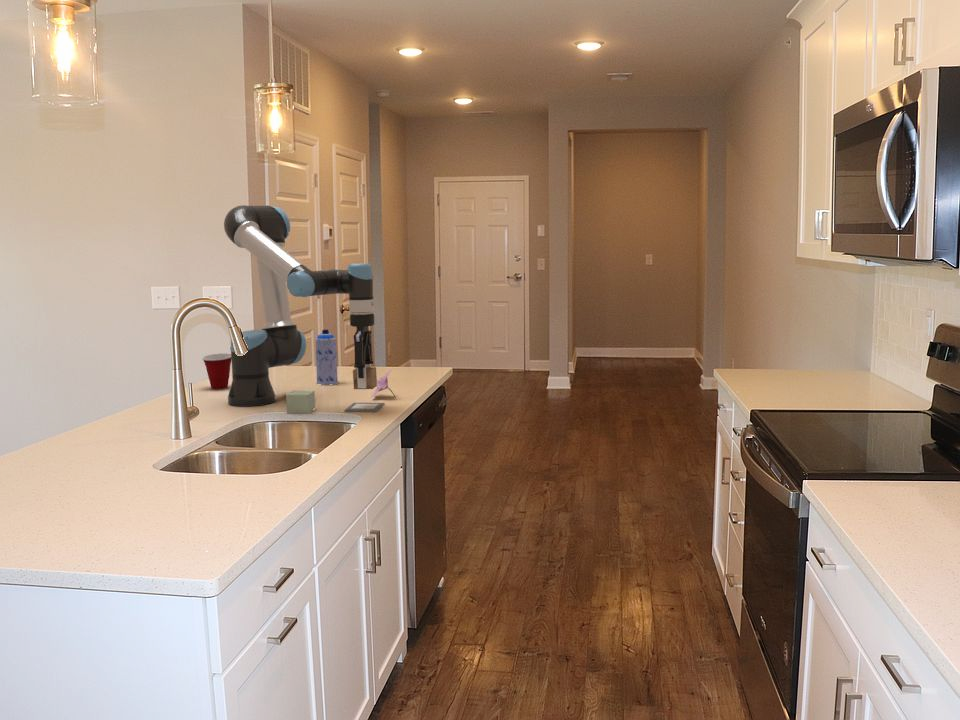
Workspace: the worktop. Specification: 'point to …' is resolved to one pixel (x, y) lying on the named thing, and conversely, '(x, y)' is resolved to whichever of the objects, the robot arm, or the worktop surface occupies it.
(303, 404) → the sage block
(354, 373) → the walnut block
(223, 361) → the plastic cup
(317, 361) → the aerosol can
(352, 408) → the slate build plate
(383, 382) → the lily
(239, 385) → the robot arm
